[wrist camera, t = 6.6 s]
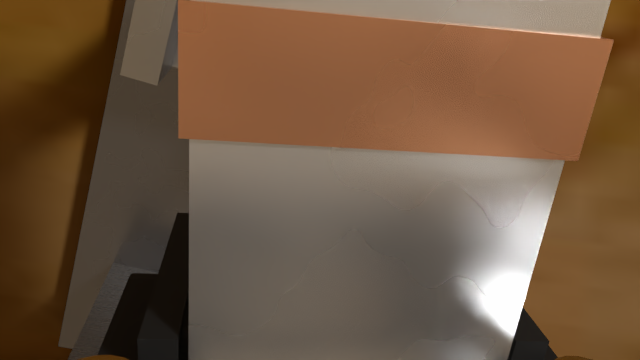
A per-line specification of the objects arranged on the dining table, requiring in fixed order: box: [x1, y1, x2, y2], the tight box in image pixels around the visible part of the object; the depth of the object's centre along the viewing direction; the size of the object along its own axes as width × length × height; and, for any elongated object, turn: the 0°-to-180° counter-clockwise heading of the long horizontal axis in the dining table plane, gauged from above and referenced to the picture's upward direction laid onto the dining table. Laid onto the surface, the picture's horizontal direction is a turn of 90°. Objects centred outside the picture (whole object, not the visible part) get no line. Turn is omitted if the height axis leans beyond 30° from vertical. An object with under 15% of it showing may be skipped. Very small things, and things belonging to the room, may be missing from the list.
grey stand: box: [58, 0, 189, 360], centre depth 25 cm, size 13×26×10 cm, turn 161°
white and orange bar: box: [178, 0, 614, 360], centre depth 10 cm, size 24×5×5 cm, turn 174°
